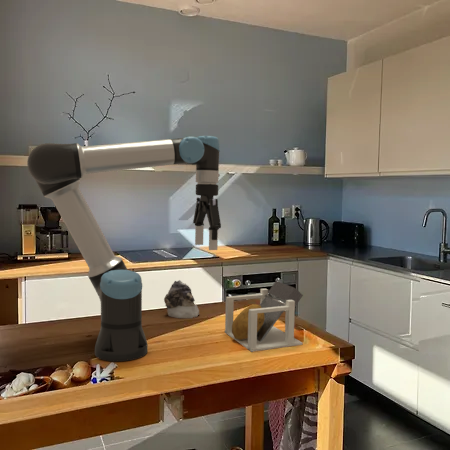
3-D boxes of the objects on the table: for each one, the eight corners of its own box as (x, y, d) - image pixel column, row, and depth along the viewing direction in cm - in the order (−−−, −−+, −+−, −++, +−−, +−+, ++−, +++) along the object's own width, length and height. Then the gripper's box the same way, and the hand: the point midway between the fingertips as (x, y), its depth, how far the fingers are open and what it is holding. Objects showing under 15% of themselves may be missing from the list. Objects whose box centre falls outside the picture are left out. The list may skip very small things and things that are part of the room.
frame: (251, 351, 142) (252, 305, 141) (224, 332, 161) (225, 291, 159) (302, 344, 149) (304, 300, 148) (271, 326, 168) (272, 287, 167)
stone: (203, 316, 184) (204, 287, 176) (189, 332, 177) (189, 302, 169) (174, 303, 190) (173, 274, 182) (159, 318, 183) (157, 289, 174)
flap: (268, 347, 148) (259, 340, 146) (247, 334, 161) (239, 327, 159) (305, 296, 152) (297, 288, 150) (282, 286, 165) (274, 280, 163)
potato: (273, 326, 147) (258, 318, 144) (245, 349, 152) (230, 342, 148) (265, 303, 154) (251, 296, 151) (238, 326, 159) (224, 319, 155)
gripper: (232, 184, 148) (230, 252, 150) (204, 183, 171) (203, 242, 173) (209, 183, 145) (208, 252, 147) (184, 183, 168) (183, 243, 170)
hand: (205, 247), depth 160 cm, fingers open, 13 cm apart
